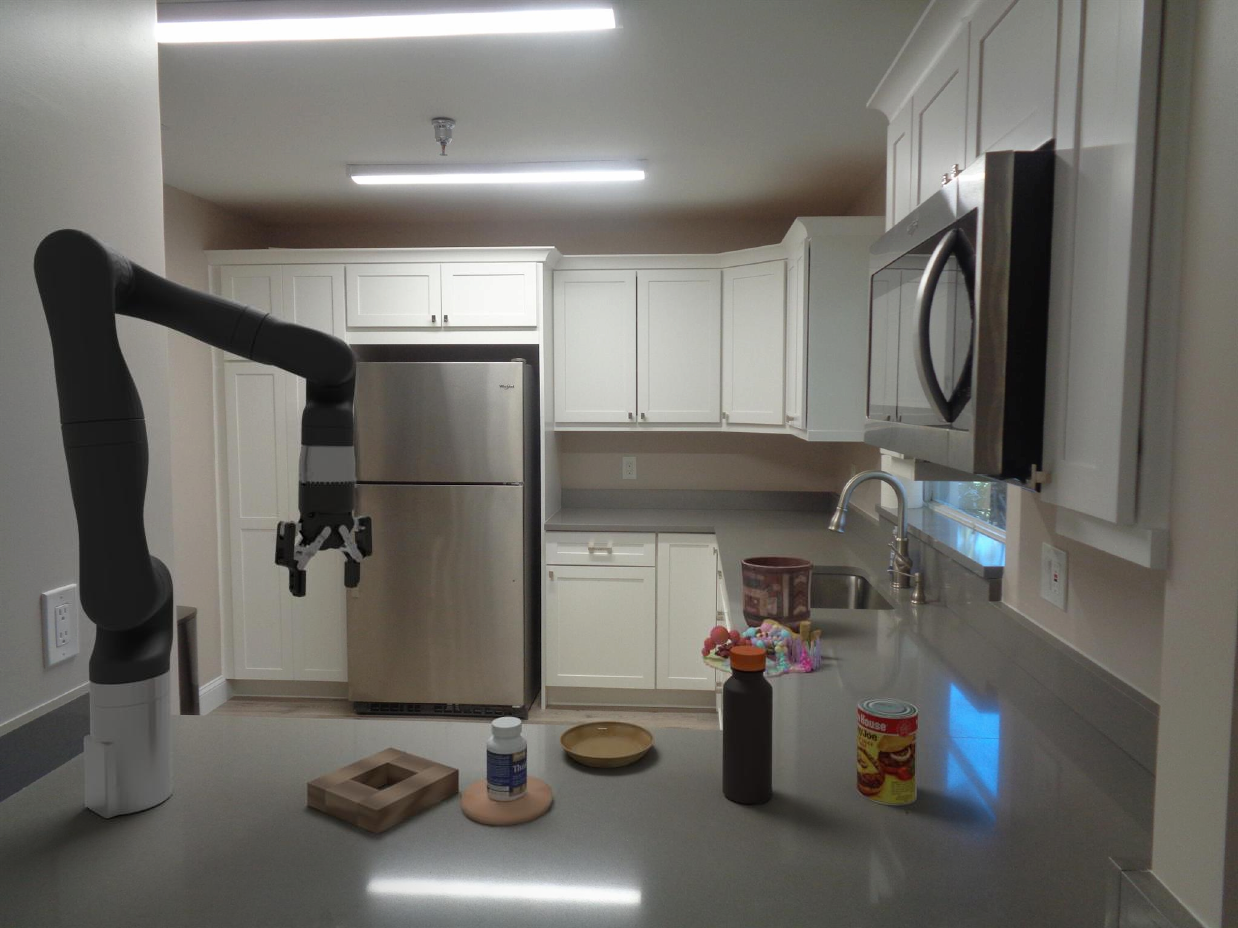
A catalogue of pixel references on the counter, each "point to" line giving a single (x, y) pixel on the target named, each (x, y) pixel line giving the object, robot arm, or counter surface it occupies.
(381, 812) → the block
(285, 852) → the counter surface
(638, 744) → the plant saucer
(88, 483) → the robot arm
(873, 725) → the canned food
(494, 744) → the pill bottle
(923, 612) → the counter surface
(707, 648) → the candy landscape model
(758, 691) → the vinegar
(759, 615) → the pottery
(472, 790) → the salmon pink disc
